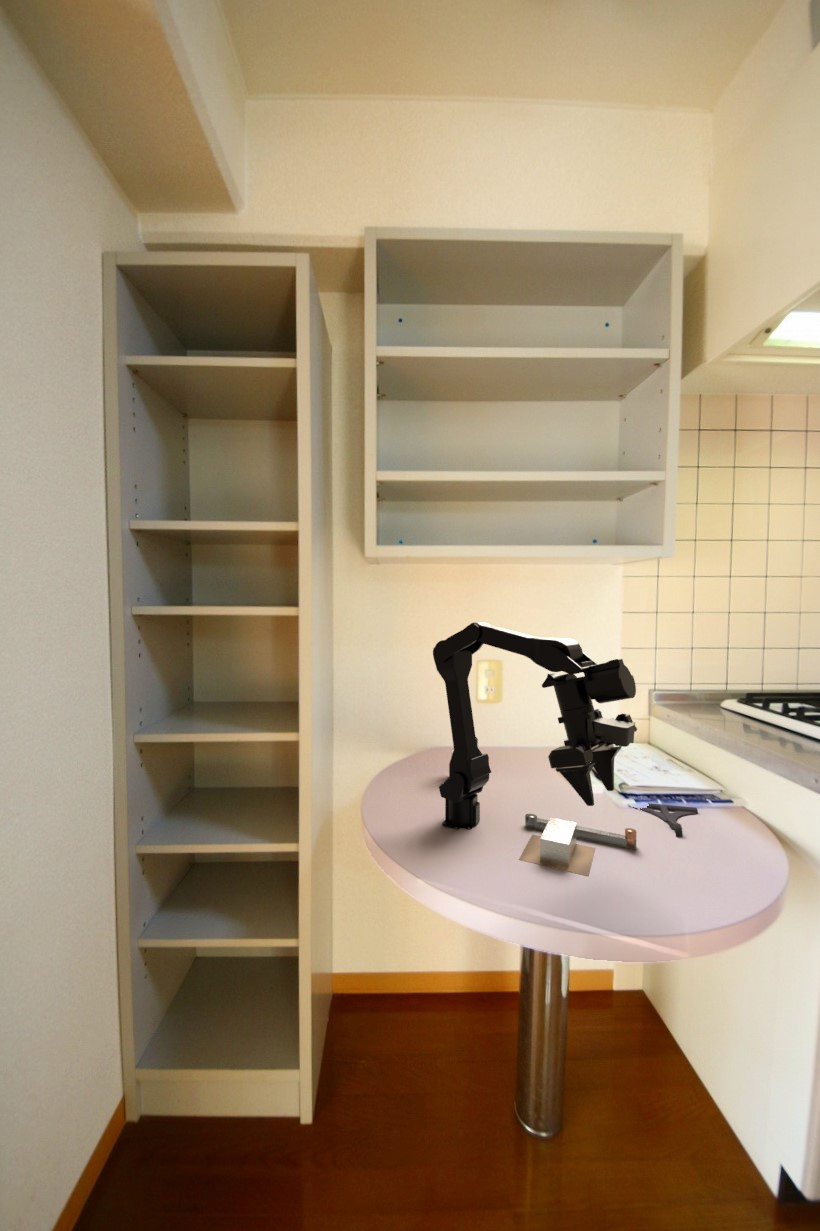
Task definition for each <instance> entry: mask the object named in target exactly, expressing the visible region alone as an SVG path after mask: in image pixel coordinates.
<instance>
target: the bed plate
mask: <svg viewBox="0 0 820 1231" xmlns="http://www.w3.org/2000/svg"><path fill="white" fill-rule="evenodd" d="M541 836H542V835H541ZM541 836H540V835H536V834H531V836H530V838H529V840H528V841H527V843H526V845H525V847H524V849H523V850H522V852H521V854H520V856H519V858H518V860H519V861H521V862H522V861H523V862H527V863H530V864H535V865H538V866H543V867H548V868H551V869H556V870H560V871H564V872H567V873H573V874H577V875H581V876H584V877H589V875H590V871H591V868H592V862H593V860H594V857H595V856H594V855H595V851H596V847H592V846H587V845H585V844H584V845H583V844H579V843H576V846H575V849H574V852H573V855H572V858H571V861H570V864H569V867H566V866H562V865H558V864H554V863H549V862H545V861H541V860H540V838H541Z"/></svg>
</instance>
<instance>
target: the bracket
mask: <svg viewBox="0 0 820 1231" xmlns="http://www.w3.org/2000/svg"><path fill="white" fill-rule="evenodd" d="M647 803H648V804H649V806H647V808H642V809H641V808H640V810H639V811H641V810H642V811H641V812H645V813H647V814H650V815H654V816H656V817H658V818H659V819H661V820H662V821H664V822H665V823H667V824H668V826H669V828H670V829H671V831H674V833H675V836H676V837H680V838H681V837H683V828H682V824H681V823H679V822H677V821H678V819H679V818H682V817H685V816H695V815H698V814H699V811H698V807H696V806H695V807H694V806H693V807H692V806H683V805H675V804H674V805H673V804H664V803H663V804H661V803H652V802H647Z"/></svg>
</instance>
